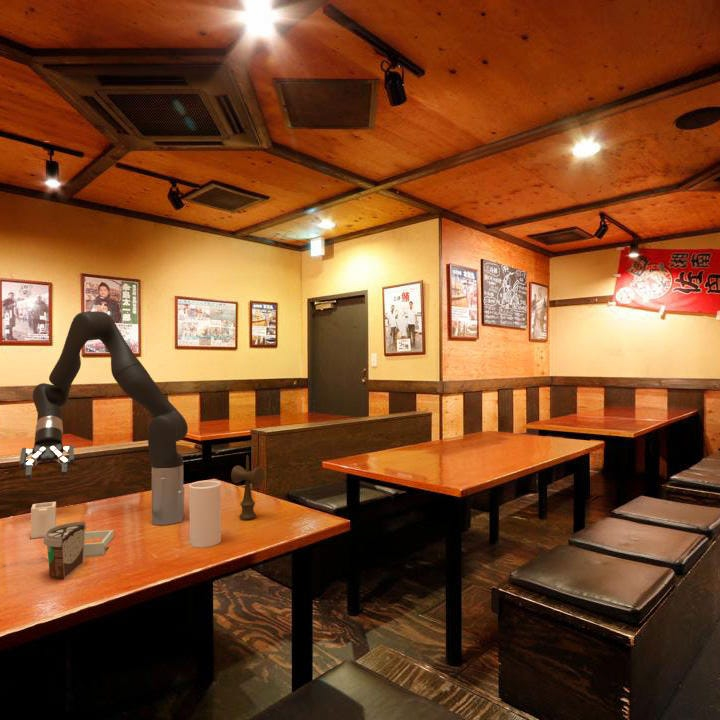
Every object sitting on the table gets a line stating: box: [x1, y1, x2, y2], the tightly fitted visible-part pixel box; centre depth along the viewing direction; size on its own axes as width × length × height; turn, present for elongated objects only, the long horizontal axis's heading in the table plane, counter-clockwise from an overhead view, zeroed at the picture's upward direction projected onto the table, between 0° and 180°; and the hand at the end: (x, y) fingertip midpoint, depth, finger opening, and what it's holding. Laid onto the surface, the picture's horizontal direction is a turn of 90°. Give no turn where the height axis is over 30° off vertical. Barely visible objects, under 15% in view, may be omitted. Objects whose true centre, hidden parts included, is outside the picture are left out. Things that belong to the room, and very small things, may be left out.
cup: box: [189, 480, 222, 548], centre depth 138 cm, size 8×8×16 cm
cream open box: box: [30, 501, 57, 540], centre depth 141 cm, size 6×7×8 cm
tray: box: [83, 529, 115, 558], centre depth 133 cm, size 10×10×3 cm
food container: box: [43, 521, 87, 580], centre depth 119 cm, size 12×6×10 cm, turn 5°
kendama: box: [230, 454, 265, 521], centre depth 159 cm, size 6×10×20 cm, turn 65°
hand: (46, 476), depth 151 cm, fingers open, 8 cm apart
